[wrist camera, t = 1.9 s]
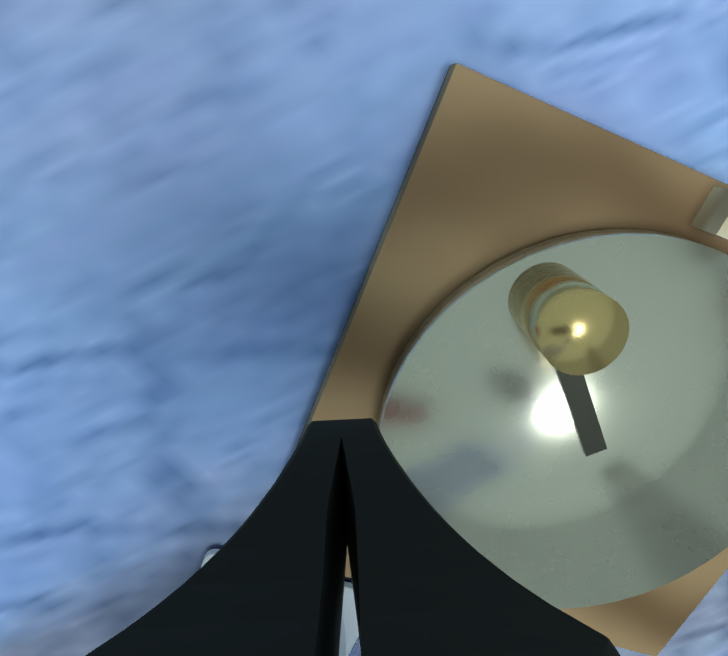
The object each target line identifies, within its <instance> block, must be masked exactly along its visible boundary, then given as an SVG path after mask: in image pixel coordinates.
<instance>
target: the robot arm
mask: <svg viewBox="0 0 728 656" xmlns="http://www.w3.org/2000/svg"><path fill="white" fill-rule="evenodd" d="M347 546H348V554H349V562H350V570H351V578H352V583H350V582H346V581H345V569H346V556H347ZM358 636H359V639H360V647H361V656H620V654H619V653H618V651H617V650H616V648H615V647H614V645H613V644H612V642H611V641H610V639H609V638H608V637H606V636H605V635H603V634H601V633H599V632H598V631H596V630H594V629H592V628H591V627H589V626H587V625H585V624H584V623H582V622H580V621H578V620H577V619H575V618H573V617H572V616H570V615H568V614H566V613H565V612H563V611H561V610H559V609H558V608H556V607H554V606H552V605H551V604H549V603H548V602H546V601H544V600H543V599H541V598H540V597H538V596H537V595H536V594H534V593H533V592H531V591H530V590H528V589H527V588H525V587H524V586H522V585H521V584H519V583H518V582H516V581H515V580H514V579H512V578H511V577H510V576H508V575H507V574H506V573H504V572H503V571H502V570H501V569H499V568H498V567H497V566H496V565H494V564H493V563H492V562H491V561H489V560H488V559H487V558H485V557H484V556H483V555H482V554H480V553H479V552H478V551H477V550H476V549H475V548H474V547H472V546H471V545H470V544H469V543H468V542H467V541H466V540H465V539H464V538H463V537H461V536H460V535H459V534H458V533H457V532H456V531H455V530H454V529H453V528H452V527H451V526H450V525H449V524H448V523H447V522H446V521H445V520H444V519H443V518H442V516H441V515H440V514H439V513H438V512H437V511H436V510H435V509H434V508H433V507H432V505H431V504H430V503H429V502H428V501H427V500H426V498H425V497H424V496H423V495H422V494H421V492H420V491H419V490H418V489H417V487H416V486H415V485H414V483H413V482H412V481H411V480H410V478H409V477H408V475H407V474H406V473H405V471H404V470H403V468H402V467H401V466H400V464H399V463H398V461H397V460H396V458H395V457H394V455H393V454H392V452H391V450H390V449H389V447H388V445H387V444H386V442H385V440H384V438H383V436H382V434H381V432H380V430H379V428H378V425H377V423H376V422H375V421H374V420H373V419H372V418H363V419H343V420H322V421H312V422H311V423H310V424H309V425H308V426H307V428H306V430H305V432H304V434H303V437H302V439H301V441H300V442H299V444H298V446H297V448H296V450H295V451H294V453H293V455H292V457H291V458H290V460H289V462H288V463H287V465H286V466H285V468H284V469H283V471H282V473H281V474H280V476H279V477H278V479H277V480H276V482H275V483H274V485H273V486H272V487H271V489H270V490H269V491H268V493H267V494H266V495H265V497H264V498H263V499H262V501H261V502H260V503H259V505H258V506H257V508H256V509H255V510H254V511H253V513H252V514H251V515H250V516H249V518H248V519H247V520H246V521H245V522H244V524H243V525H242V526H241V527H240V528H239V529H238V530H237V532H236V533H235V534H234V535H233V536H232V537H231V538H230V539H229V540H228V541H227V542H226V544H225V545H224V546H223V547H222V548H221V549H211V550H209V551H207V553H206V554H205V556H204V559H203V562H202V565H201V567H200V569H199V570H198V571H197V572H196V573H195V574H194V575H193V576H192V577H191V578H190V579H188V580H187V581H186V582H185V583H184V584H183V585H182V586H181V587H179V588H178V589H177V590H176V591H174V592H173V593H172V594H171V595H169V596H168V597H167V598H166V599H165V600H163V601H162V602H161V603H160V604H158V605H157V606H156V607H154V608H153V609H152V610H150V611H149V612H148V613H146V614H145V615H144V616H142V617H141V618H140V619H139V620H137V621H136V622H134V623H133V624H132V625H130V626H129V627H127V628H126V629H125V630H123V631H122V632H120V633H119V634H117V635H116V636H114V637H113V638H111V639H110V640H108V641H107V642H105V643H104V644H102V645H101V646H99V647H98V648H96V649H95V650H93V651H92V652H90V653H89V654H87V655H86V656H348V655H349V653H350V651H351V649H352V647H353V646H354V644H355V642H356V640H357V638H358Z"/></svg>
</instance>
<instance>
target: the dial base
mask: <svg viewBox="0 0 728 656" xmlns="http://www.w3.org/2000/svg"><path fill="white" fill-rule="evenodd" d="M604 229H643V230H650V231H656V232H661V233H667V234H673V235H676V236H679V237H682V238H685V239H688V240H691V241H694V242H697V243H700V244H703V245H706V246H708V247H711V248H714V249H716V250H719V251H721V252H723V253H725V254H727V255H728V185H727V184H725V183H722V182H720V181H718V180H716V179H714V178H711V177H709V176H707V175H705V174H702V173H700V172H698V171H696V170H693V169H691V168H689V167H687V166H685V165H682V164H680V163H678V162H676V161H673V160H671V159H669V158H667V157H665V156H662V155H660V154H658V153H656V152H653V151H651V150H649V149H647V148H645V147H642V146H640V145H638V144H636V143H633V142H631V141H629V140H627V139H624V138H622V137H620V136H618V135H616V134H613V133H611V132H609V131H607V130H604V129H602V128H600V127H598V126H596V125H593V124H591V123H589V122H587V121H584V120H582V119H580V118H578V117H576V116H573V115H571V114H569V113H567V112H564V111H562V110H560V109H558V108H555V107H553V106H551V105H549V104H547V103H544V102H542V101H540V100H538V99H535V98H533V97H531V96H529V95H527V94H524V93H522V92H520V91H518V90H515V89H513V88H511V87H509V86H507V85H504V84H502V83H500V82H498V81H495V80H493V79H491V78H489V77H486V76H484V75H482V74H480V73H478V72H475V71H473V70H471V69H469V68H466V67H464V66H462V65H460V64H458V63H456V64H453V65H450V67H449V70H448V72H447V75H446V77H445V80H444V82H443V85H442V87H441V90H440V92H439V95H438V97H437V100H436V102H435V105H434V107H433V110H432V112H431V115H430V117H429V120H428V122H427V124H426V127H425V129H424V132H423V134H422V137H421V139H420V142H419V144H418V147H417V149H416V152H415V154H414V157H413V159H412V162H411V164H410V167H409V169H408V172H407V174H406V177H405V179H404V182H403V184H402V187H401V189H400V191H399V194H398V196H397V199H396V201H395V204H394V206H393V209H392V211H391V214H390V216H389V219H388V221H387V224H386V226H385V229H384V231H383V234H382V236H381V239H380V241H379V244H378V246H377V249H376V251H375V254H374V256H373V258H372V261H371V263H370V266H369V268H368V271H367V273H366V276H365V278H364V281H363V283H362V286H361V288H360V291H359V293H358V296H357V298H356V301H355V303H354V306H353V308H352V311H351V313H350V316H349V318H348V321H347V323H346V325H345V328H344V330H343V333H342V335H341V338H340V340H339V343H338V345H337V348H336V350H335V353H334V355H333V358H332V360H331V363H330V365H329V368H328V370H327V373H326V375H325V378H324V380H323V383H322V385H321V388H320V390H319V392H318V395H317V397H316V400H315V402H314V405H313V407H312V410H311V412H310V415H309V417H308V420H307V422H306V425H305V427H304V430H303V432H302V435H301V437H300V440H299V442H300V441H301V439H302V437H303V434H304V432H305V430H306V428H307V426H308V425H309V424H310V423H311V422H312V421H322V420H343V419H363V418H372V419H373V420H374V421H375V422H376V423H377V425H378V417H379V412H380V408H381V403H382V398H383V394H384V392H385V389H386V386H387V384H388V381H389V378H390V376H391V373H392V370H393V368H394V367H395V365H396V363H397V361H398V359H399V357H400V355H401V354H402V352H403V350H404V348H405V346H406V345H407V343H408V342H409V341H410V339H411V338H412V336H413V335H414V334H415V332H416V331H417V329H418V328H419V327H420V325H421V324H422V323H423V322H424V320H425V319H426V318H427V317H428V316H429V315H430V314H431V313H432V312H433V311H434V310H435V309H436V308H437V306H438V305H439V304H440V303H441V302H442V301H443V300H444V299H446V298H447V297H448V296H449V295H450V294H452V293H453V292H454V291H455V290H456V289H457V288H459V287H460V286H461V285H462V284H463V283H465V282H466V281H467V280H469V279H470V278H472V277H473V276H475V275H476V274H478V273H479V272H481V271H482V270H484V269H485V268H487V267H488V266H490V265H492V264H493V263H495V262H497V261H499V260H501V259H503V258H505V257H507V256H509V255H511V254H513V253H515V252H517V251H519V250H521V249H524V248H527V247H530V246H532V245H535V244H538V243H541V242H544V241H546V240H549V239H552V238H556V237H561V236H565V235H570V234H574V233H579V232H583V231H594V230H604ZM299 442H298V444H299ZM297 446H298V445H297ZM296 448H297V447H296ZM727 568H728V547H727V548H725V549H724V550H723V551H721V552H720V553H719V554H717V555H716V556H715V557H714V558H712V559H711V560H709V561H708V562H706V563H704V564H703V565H701V566H700V567H698V568H696V569H695V570H693V571H691V572H690V573H688V574H686V575H684V576H682V577H680V578H678V579H676V580H674V581H672V582H670V583H668V584H666V585H664V586H661V587H659V588H656V589H654V590H651V591H648V592H646V593H643V594H641V595H637V596H634V597H630V598H627V599H624V600H620V601H616V602H611V603H606V604H601V605H596V606H589V607H579V608H569V609H559V610H561V611H563V612H565V613H566V614H568V615H570V616H572V617H573V618H575V619H577V620H578V621H580V622H582V623H584V624H585V625H587V626H589V627H591V628H592V629H594V630H596V631H598V632H599V633H601V634H603V635H605V636H606V637H608V638H609V639H610V641H611V642H612V644H613V645H614V646H617V647H621V648H625V649H629V650H632V651H636V652H640V653H644V654H648V655H652V656H657V655H658V654H659V652H660V651H661V650H662V649H663V647H664V646H665V645H666V644H667V642H668V641H669V640H670V639H671V637H672V636H673V635H674V634H675V633H676V631H677V630H678V629H679V628H680V626H681V625H682V624H683V623H684V621H685V620H686V619H687V618H688V616H689V615H690V614H691V613H692V611H693V610H694V609H695V608H696V606H697V605H698V604H699V603H700V602H701V600H702V599H703V598H704V597H705V595H706V594H707V593H708V592H709V590H710V589H711V588H712V587H713V585H714V584H715V583H716V582H717V580H718V579H719V578H720V577H721V576H722V574H723V573H724V572H725V571H726V569H727ZM345 577H349V578H351V570H350V562H349V554H348V546H347V556H346V569H345Z"/></svg>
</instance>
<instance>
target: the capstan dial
mask: <svg viewBox="0 0 728 656" xmlns="http://www.w3.org/2000/svg"><path fill="white" fill-rule="evenodd" d="M378 428H379V430H380V432H381V434H382V436H383V438H384V440H385V442H386V444H387V445H388V447H389V449H390V450H391V452H392V454H393V455H394V457H395V458H396V460H397V461H398V463H399V464H400V466H401V467H402V468H403V470H404V471H405V473H406V474H407V475H408V477H409V478H410V480H411V481H412V482H413V483H414V485H415V486H416V487H417V489H418V490H419V491H420V492H421V494H422V495H423V496H424V497H425V498H426V500H427V501H428V502H429V503H430V504H431V505H432V507H433V508H434V509H435V510H436V511H437V512H438V513H439V514H440V515H441V516H442V518H443V519H444V520H445V521H446V522H447V523H448V524H449V525H450V526H451V527H452V528H453V529H454V530H455V531H456V532H457V533H458V534H459V535H460V536H461V537H463V538H464V539H465V540H466V541H467V542H468V543H469V544H470V545H471V546H472V547H474V548H475V549H476V550H477V551H478V552H479V553H480V554H482V555H483V556H484V557H485V558H487V559H488V560H489V561H491V562H492V563H493V564H494V565H496V566H497V567H498V568H499V569H501V570H502V571H503V572H504V573H506V574H507V575H508V576H510V577H511V578H512V579H514V580H515V581H516V582H518V583H519V584H521V585H522V586H524V587H525V588H527V589H528V590H530V591H531V592H533V593H534V594H536V595H537V596H538V597H540V598H541V599H543V600H544V601H546V602H548V603H549V604H551V605H552V606H554V607H556V608H558V609H569V608H579V607H589V606H596V605H601V604H606V603H611V602H616V601H620V600H624V599H627V598H630V597H634V596H637V595H641V594H643V593H646V592H648V591H651V590H654V589H656V588H659V587H661V586H664V585H666V584H668V583H670V582H672V581H674V580H676V579H678V578H680V577H682V576H684V575H686V574H688V573H690V572H691V571H693V570H695V569H696V568H698V567H700V566H701V565H703V564H704V563H706V562H708V561H709V560H711V559H712V558H714V557H715V556H716V555H717V554H719V553H720V552H721V551H723V550H724V549H725V548H727V547H728V255H727V254H725V253H723V252H721V251H719V250H716V249H714V248H711V247H708V246H706V245H703V244H700V243H697V242H694V241H691V240H688V239H685V238H682V237H679V236H676V235H673V234H667V233H661V232H656V231H650V230H643V229H604V230H594V231H583V232H579V233H574V234H570V235H565V236H561V237H556V238H552V239H549V240H546V241H544V242H541V243H538V244H535V245H532V246H530V247H527V248H524V249H521V250H519V251H517V252H515V253H513V254H511V255H509V256H507V257H505V258H503V259H501V260H499V261H497V262H495V263H493V264H492V265H490V266H488V267H487V268H485V269H484V270H482V271H481V272H479V273H478V274H476V275H475V276H473V277H472V278H470V279H469V280H467V281H466V282H465V283H463V284H462V285H461V286H460V287H459V288H457V289H456V290H455V291H454V292H453V293H452V294H450V295H449V296H448V297H447V298H446V299H444V300H443V301H442V302H441V303H440V304H439V305H438V306H437V308H436V309H435V310H434V311H433V312H432V313H431V314H430V315H429V316H428V317H427V318H426V319H425V320H424V322H423V323H422V324H421V325H420V327H419V328H418V329H417V331H416V332H415V334H414V335H413V336H412V338H411V339H410V341H409V342H408V343H407V345H406V346H405V348H404V350H403V352H402V354H401V355H400V357H399V359H398V361H397V363H396V365H395V367H394V368H393V370H392V373H391V376H390V378H389V381H388V384H387V386H386V389H385V392H384V394H383V398H382V403H381V408H380V412H379V417H378Z"/></svg>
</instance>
